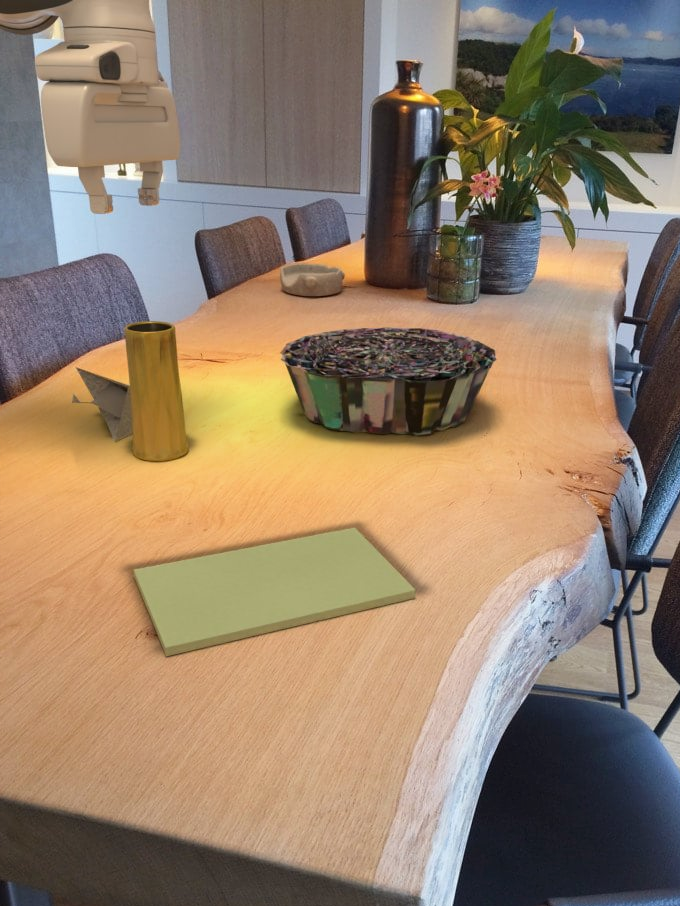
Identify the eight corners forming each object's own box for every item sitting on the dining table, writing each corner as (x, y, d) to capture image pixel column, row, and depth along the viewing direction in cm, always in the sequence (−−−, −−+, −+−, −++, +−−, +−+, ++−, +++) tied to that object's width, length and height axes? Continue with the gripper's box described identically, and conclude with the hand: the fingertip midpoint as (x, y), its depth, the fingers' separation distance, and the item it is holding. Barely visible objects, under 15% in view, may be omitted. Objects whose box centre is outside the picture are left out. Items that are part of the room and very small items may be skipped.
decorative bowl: (512, 457, 99) (527, 377, 95) (282, 449, 94) (287, 364, 90) (458, 392, 122) (468, 325, 118) (271, 383, 117) (274, 313, 113)
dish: (318, 301, 171) (318, 276, 168) (266, 292, 177) (265, 268, 175) (357, 290, 182) (358, 267, 180) (307, 282, 188) (307, 260, 186)
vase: (169, 465, 90) (158, 335, 84) (121, 457, 92) (107, 329, 86) (198, 446, 95) (190, 323, 89) (153, 439, 97) (142, 317, 91)
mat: (166, 656, 59) (165, 647, 58) (134, 577, 68) (133, 569, 68) (415, 598, 67) (416, 589, 66) (354, 534, 76) (355, 527, 76)
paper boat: (172, 422, 99) (104, 420, 92) (148, 458, 102) (81, 459, 95) (130, 352, 104) (63, 345, 96) (109, 388, 107) (42, 384, 100)
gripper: (139, 69, 93) (150, 199, 99) (21, 57, 76) (43, 216, 81) (189, 70, 92) (198, 202, 98) (82, 58, 74) (100, 220, 80)
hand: (127, 209), depth 89 cm, fingers open, 8 cm apart
